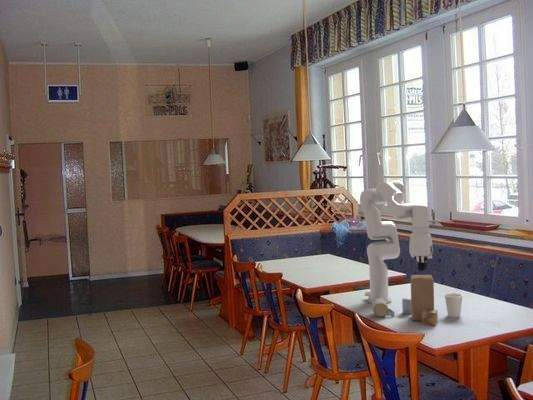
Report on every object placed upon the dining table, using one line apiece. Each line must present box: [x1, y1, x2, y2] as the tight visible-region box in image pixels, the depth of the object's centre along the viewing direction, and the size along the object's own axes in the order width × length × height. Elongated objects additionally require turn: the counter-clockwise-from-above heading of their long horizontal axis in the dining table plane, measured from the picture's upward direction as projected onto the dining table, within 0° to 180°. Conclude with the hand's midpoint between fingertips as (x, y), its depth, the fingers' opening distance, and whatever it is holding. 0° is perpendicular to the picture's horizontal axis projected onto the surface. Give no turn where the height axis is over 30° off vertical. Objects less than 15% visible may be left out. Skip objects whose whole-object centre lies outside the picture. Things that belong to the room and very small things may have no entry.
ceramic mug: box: [370, 298, 395, 318], centre depth 290 cm, size 11×8×8 cm
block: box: [410, 274, 435, 322], centre depth 281 cm, size 10×10×20 cm
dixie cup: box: [444, 292, 463, 318], centre depth 284 cm, size 8×8×10 cm
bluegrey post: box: [401, 297, 412, 316], centre depth 292 cm, size 5×5×7 cm
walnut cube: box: [421, 309, 439, 327], centre depth 272 cm, size 6×6×6 cm
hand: (421, 270), depth 280 cm, fingers closed
